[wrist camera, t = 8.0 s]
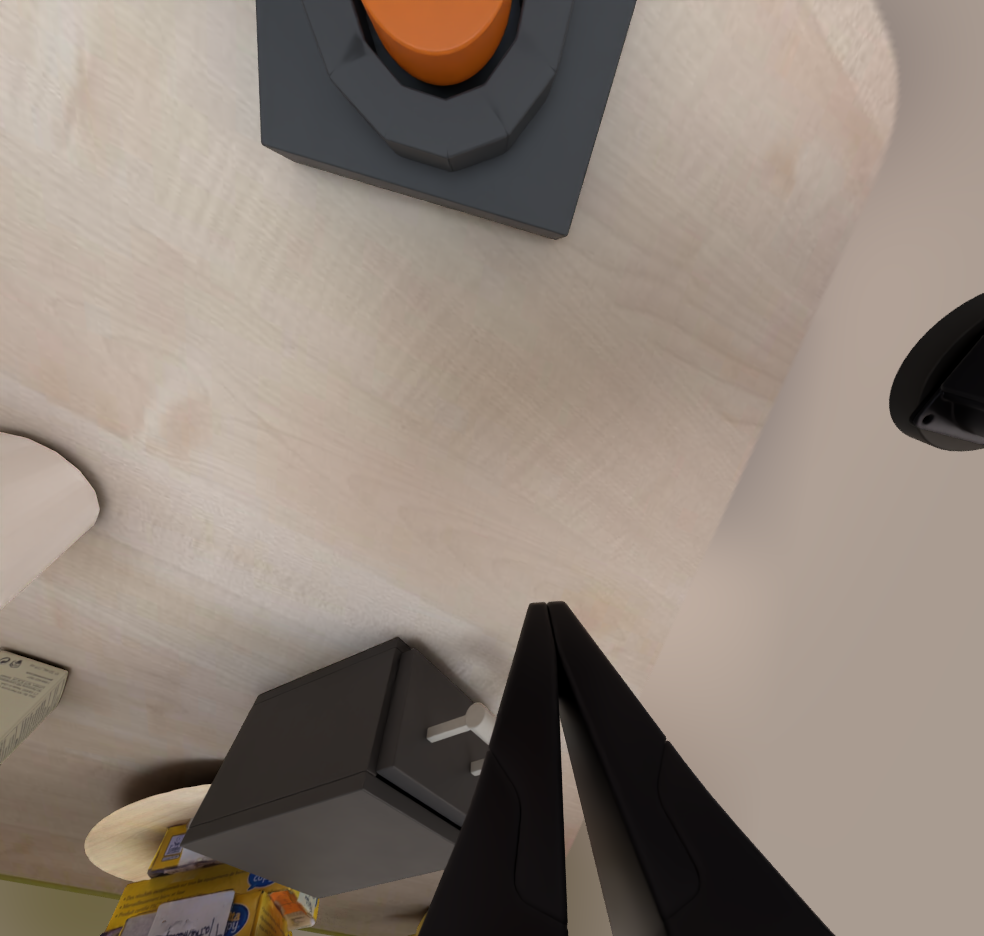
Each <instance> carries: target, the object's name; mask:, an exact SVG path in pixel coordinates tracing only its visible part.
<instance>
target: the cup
mask: <svg viewBox="0 0 984 936" xmlns="http://www.w3.org/2000/svg"><path fill="white" fill-rule="evenodd" d="M99 511H100V508H99V504H98V500H97V496H96V492H95V490H94V489H93V487H92V486H91V485H90V483H89V482H88V481H87V479H86V478H85V477H84V476H83V474H82V473H81V472H80V470H78V469H77V468H76V467H75V466H73V465H72V464H71V463H70V462H68V461H67V460H66V459H65V458H63V457H62V456H61V455H60V454H58V453H57V452H56V451H53V450H51V449H49V448H47V447H45V446H43V445H41V444H39V443H37V442H35V441H33V440H30V439H28V438H25V437H21V436H16V435H12V434H7V433H3V432H0V610H1V609H2V608H3V607H4V606H5V605H7V604H8V603H9V602H10V601H11V600H12V599H13V598H14V597H15V596H16V595H18V594H19V593H20V592H21V591H22V590H23V589H24V588H25V587H26V586H27V585H28V584H30V583H31V582H32V581H33V580H34V579H35V578H36V577H37V576H38V575H39V574H41V573H42V572H43V571H44V570H45V569H46V568H47V567H48V566H49V565H50V564H52V563H53V562H54V561H55V560H56V559H57V558H58V557H59V556H60V555H61V554H63V553H64V552H65V551H66V550H67V549H68V548H69V547H70V546H71V545H72V544H73V543H75V542H76V541H77V540H78V539H79V538H80V537H81V536H82V535H83V534H84V533H86V532H87V531H88V530H89V529H90V528H91V527H92V526H93V525H94V524H95V522H96V519H97V516H98V514H99Z"/></svg>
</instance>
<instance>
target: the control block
mask: <svg viewBox="0 0 984 936" xmlns="http://www.w3.org/2000/svg"><path fill="white" fill-rule="evenodd" d="M636 1H637V0H512V4H511V11H510V15H509V19H508V23H507V26H506V29H505V32H504V35H503V37H502V40H501V42H500V44H499V46H498V48H497V50H496V51H495V53H494V55H493V56H492V58H491V59H490V60H489V61H488V63H487V64H486V65H485V66H484V67H483V68H482V69H481V70H480V71H479V72H478V73H477V74H475V75H474V76H472V77H471V78H469V79H467V80H465V81H463V82H461V83H458V84H454V85H447V86H440V85H432V84H428V83H425V82H423V81H420V80H418V79H416V78H415V77H413V76H412V75H410V74H408V73H407V72H406V71H405V70H404V69H402V68H401V67H400V66H399V65H398V64H397V63H396V62H395V60H394V59H393V58H392V57H391V56H390V54H389V53H388V51H387V50H386V49H385V47H384V45H383V44H382V42H381V40H380V39H379V37H378V34H377V32H376V30H375V28H374V26H373V24H372V22H371V20H370V18H369V16H368V14H367V11H366V9H365V7H364V5H363V3H362V1H361V0H256V18H257V44H258V70H259V96H260V122H261V143H262V145H264V146H265V147H267V148H269V149H271V150H273V151H275V152H277V153H279V154H281V155H283V156H284V157H286V158H288V159H290V160H292V161H294V162H297V163H301V164H304V165H307V166H311V167H314V168H317V169H321V170H324V171H327V172H331V173H334V174H337V175H341V176H344V177H348V178H351V179H354V180H358V181H361V182H364V183H368V184H371V185H374V186H378V187H381V188H384V189H388V190H391V191H394V192H398V193H401V194H405V195H408V196H411V197H415V198H418V199H421V200H425V201H428V202H431V203H435V204H438V205H441V206H445V207H448V208H451V209H455V210H458V211H461V212H465V213H468V214H472V215H475V216H478V217H482V218H485V219H488V220H492V221H495V222H498V223H502V224H505V225H508V226H512V227H515V228H518V229H522V230H525V231H528V232H532V233H535V234H539V235H542V236H545V237H549V238H552V239H555V240H556V239H559V238H562V237H565V236H567V235H568V232H569V229H570V225H571V222H572V219H573V215H574V212H575V208H576V205H577V202H578V198H579V195H580V191H581V188H582V185H583V181H584V178H585V174H586V171H587V168H588V164H589V161H590V157H591V154H592V151H593V147H594V144H595V140H596V137H597V134H598V130H599V127H600V123H601V120H602V117H603V113H604V110H605V106H606V103H607V100H608V96H609V93H610V89H611V86H612V83H613V79H614V76H615V72H616V69H617V65H618V62H619V59H620V55H621V52H622V48H623V45H624V42H625V38H626V35H627V31H628V28H629V25H630V21H631V18H632V14H633V11H634V8H635V4H636Z"/></svg>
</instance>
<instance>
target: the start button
mask: <svg viewBox="0 0 984 936" xmlns="http://www.w3.org/2000/svg"><path fill="white" fill-rule="evenodd" d="M361 1H362V3H363V5H364V7H365V9H366V11H367V14H368V16H369V18H370V20H371V22H372V24H373V26H374V28H375V30H376V32H377V34H378V37H379V39H380V40H381V42H382V44H383V45H384V47H385V49H386V50H387V51H388V53H389V54H390V56H391V57H392V58H393V59H394V60H395V62H396V63H397V64H398V65H399V66H400V67H401V68H402V69H404V70H405V71H406V72H407V73H408V74H410V75H412V76H413V77H415V78H416V79H418V80H420V81H423V82H425V83H428V84H432V85H440V86H447V85H454V84H458V83H461V82H463V81H465V80H467V79H469V78H471V77H472V76H474V75H475V74H477V73H478V72H479V71H480V70H481V69H482V68H483V67H484V66H485V65H486V64H487V63H488V61H489V60H490V59H491V58H492V56H493V55H494V53H495V51H496V50H497V48H498V46H499V44H500V42H501V40H502V37H503V35H504V32H505V29H506V26H507V23H508V19H509V15H510V11H511V4H512V0H361Z"/></svg>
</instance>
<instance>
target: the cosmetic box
mask: <svg viewBox="0 0 984 936" xmlns="http://www.w3.org/2000/svg"><path fill="white" fill-rule="evenodd" d="M67 675H68V671H66V670H63V669H60V668H56V667H54V666H51V665H48V664H44V663H41V662H38V661H35V660H32V659H29V658H26V657H22V656H19V655H16V654H13V653H11V652H8V651H3V650H1V651H0V765H1V764H2V763H3V762H4V761H5V760H6V759H7V758H8V757H9V756H10V755H11V754H12V753H13V752H14V751H15V750H16V748H17V747H18V746H19V745H20V744H21V743H22V742H23V741H24V740H25V739H26V738H27V737H28V736H29V735H30V734H31V733H32V732H33V731H34V730H35V729H36V728H37V727H38V725H39V724H40V723H41V722H42V721H43V720H44V719H45V718H46V717H47V716H48V715H49V714H50V713H51V712H52V711H53V710H54V709H55V708H56V707H57V705H58V703H59V700H60V698H61V695H62V693H63V689H64V686H65V683H66V679H67Z"/></svg>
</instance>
